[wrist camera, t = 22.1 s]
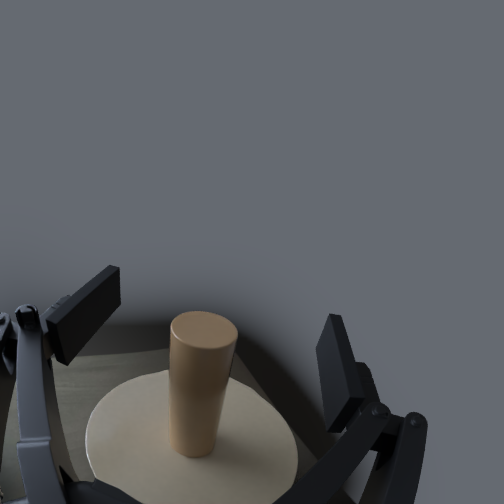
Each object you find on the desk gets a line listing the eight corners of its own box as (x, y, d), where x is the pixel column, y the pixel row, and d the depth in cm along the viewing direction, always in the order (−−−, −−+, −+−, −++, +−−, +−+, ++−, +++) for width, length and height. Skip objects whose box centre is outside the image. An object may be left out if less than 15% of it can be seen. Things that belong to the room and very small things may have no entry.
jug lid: (100, 543, 6) (17, 465, 3) (90, 380, 18) (76, 261, 15) (329, 501, 12) (416, 399, 9) (248, 375, 24) (274, 271, 21)
